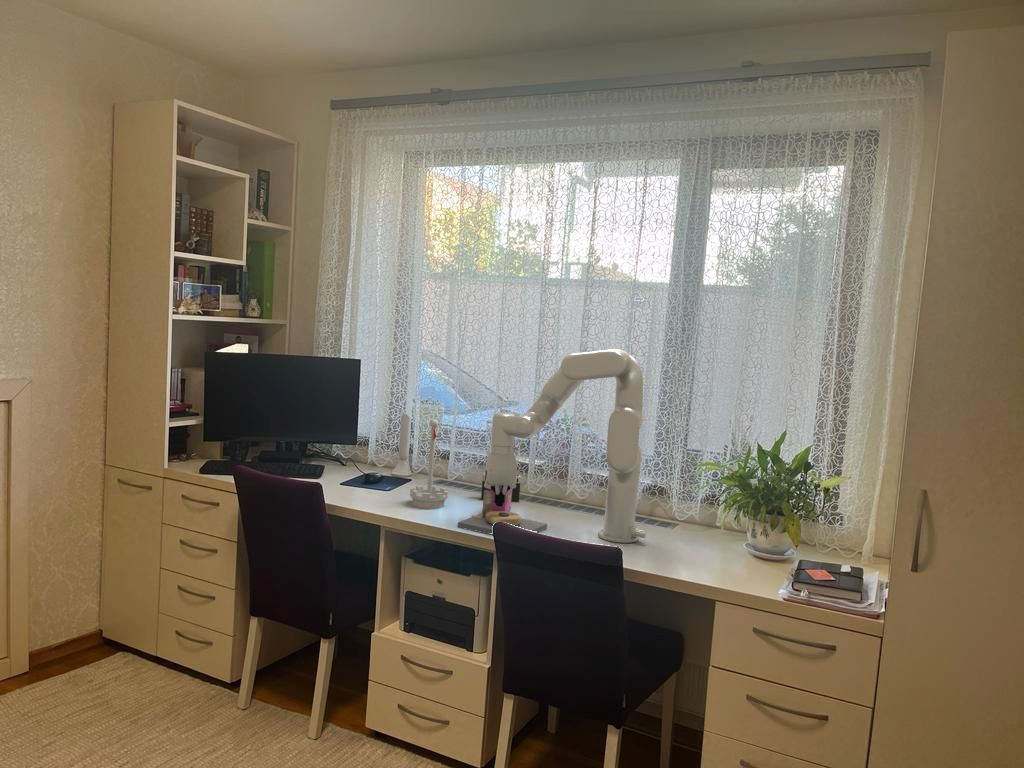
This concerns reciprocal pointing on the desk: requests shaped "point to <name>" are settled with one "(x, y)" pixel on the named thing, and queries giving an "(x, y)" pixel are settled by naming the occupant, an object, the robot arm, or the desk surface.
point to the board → (483, 526)
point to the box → (507, 501)
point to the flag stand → (429, 482)
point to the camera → (514, 491)
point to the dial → (497, 512)
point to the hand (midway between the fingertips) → (499, 505)
